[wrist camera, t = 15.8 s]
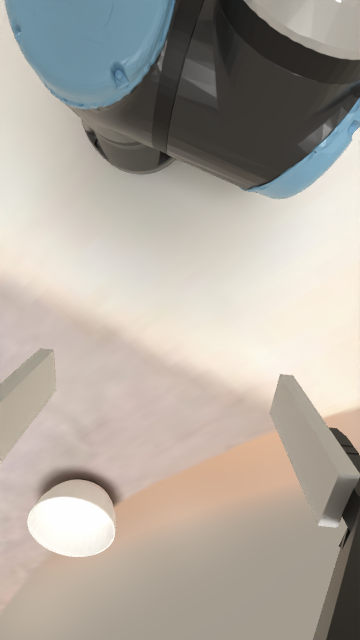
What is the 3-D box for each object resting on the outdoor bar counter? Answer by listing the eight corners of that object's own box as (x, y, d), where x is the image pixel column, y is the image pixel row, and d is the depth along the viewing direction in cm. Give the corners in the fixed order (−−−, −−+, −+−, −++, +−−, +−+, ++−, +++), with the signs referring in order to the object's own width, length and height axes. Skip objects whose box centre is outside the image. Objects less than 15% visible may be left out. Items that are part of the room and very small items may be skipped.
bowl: (136, 510, 65) (130, 544, 59) (72, 530, 68) (59, 565, 62) (96, 455, 60) (85, 486, 53) (28, 480, 63) (9, 512, 56)
